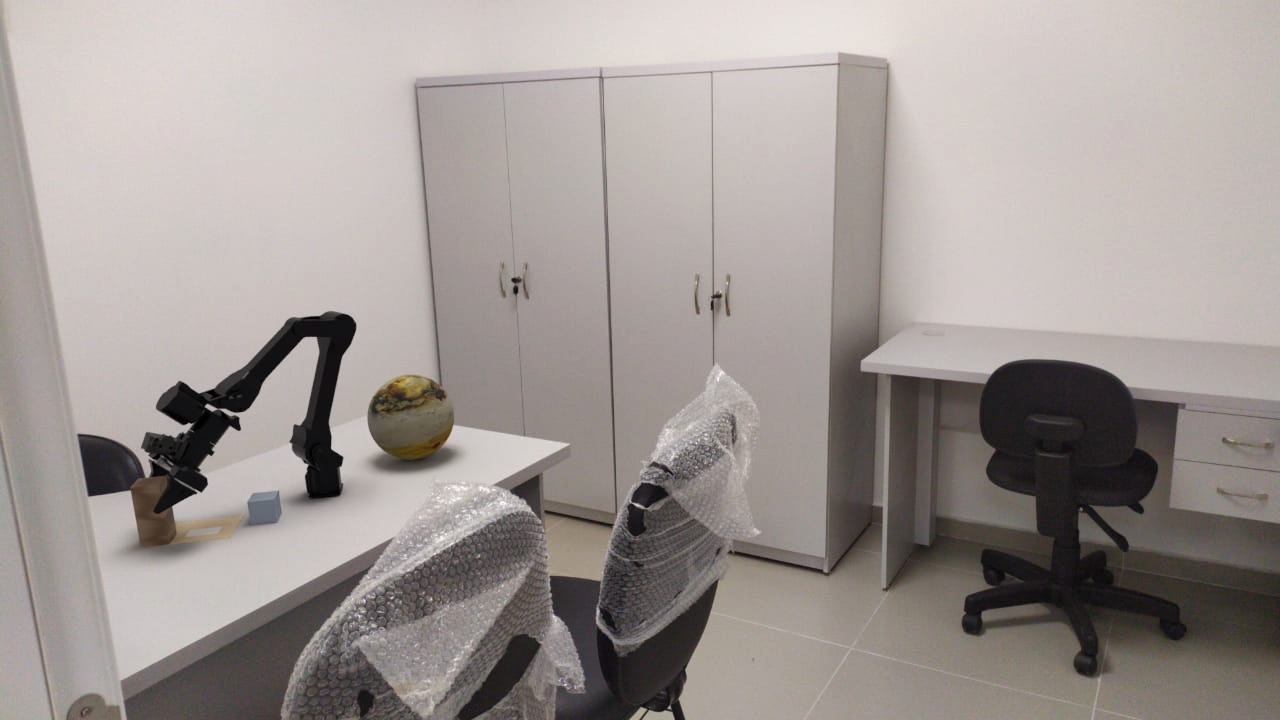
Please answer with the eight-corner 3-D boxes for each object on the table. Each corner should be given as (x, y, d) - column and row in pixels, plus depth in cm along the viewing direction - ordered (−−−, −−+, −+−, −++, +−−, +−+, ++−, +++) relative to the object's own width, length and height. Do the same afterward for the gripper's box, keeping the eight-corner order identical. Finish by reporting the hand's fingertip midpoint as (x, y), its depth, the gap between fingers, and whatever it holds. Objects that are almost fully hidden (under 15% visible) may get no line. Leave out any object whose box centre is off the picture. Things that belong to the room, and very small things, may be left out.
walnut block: (176, 533, 179) (167, 475, 176) (169, 544, 174) (159, 484, 172) (149, 536, 178) (139, 478, 175) (140, 547, 173) (130, 487, 171)
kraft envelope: (243, 516, 187) (243, 515, 187) (230, 538, 176) (230, 537, 176) (158, 525, 184) (158, 524, 184) (140, 548, 173) (140, 547, 173)
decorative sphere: (356, 470, 211) (346, 386, 207) (396, 442, 230) (388, 365, 226) (436, 473, 207) (427, 387, 202) (470, 445, 226) (463, 366, 221)
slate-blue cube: (281, 513, 188) (278, 490, 187) (277, 522, 183) (274, 499, 182) (256, 516, 187) (252, 493, 186) (250, 525, 182) (247, 502, 181)
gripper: (152, 406, 181) (98, 474, 176) (180, 425, 167) (122, 499, 162) (200, 435, 187) (150, 501, 183) (230, 456, 174) (176, 527, 169)
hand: (148, 506), depth 174 cm, fingers open, 9 cm apart
